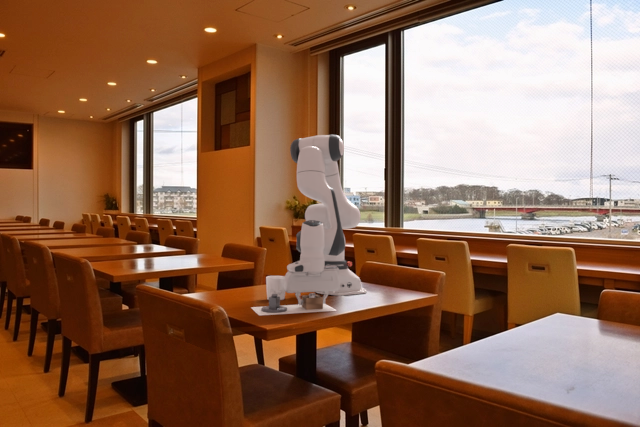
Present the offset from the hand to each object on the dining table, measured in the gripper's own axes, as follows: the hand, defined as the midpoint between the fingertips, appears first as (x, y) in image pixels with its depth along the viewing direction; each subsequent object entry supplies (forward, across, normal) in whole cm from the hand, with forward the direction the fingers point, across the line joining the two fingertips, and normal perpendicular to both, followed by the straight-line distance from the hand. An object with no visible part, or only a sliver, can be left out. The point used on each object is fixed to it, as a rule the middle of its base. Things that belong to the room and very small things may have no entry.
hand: (311, 304), depth 185 cm
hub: (+1, +14, 0) cm, 14 cm away
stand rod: (+1, 0, 0) cm, 1 cm away
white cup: (+3, +8, -21) cm, 23 cm away
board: (+3, +7, 0) cm, 7 cm away
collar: (+1, 0, 0) cm, 1 cm away
